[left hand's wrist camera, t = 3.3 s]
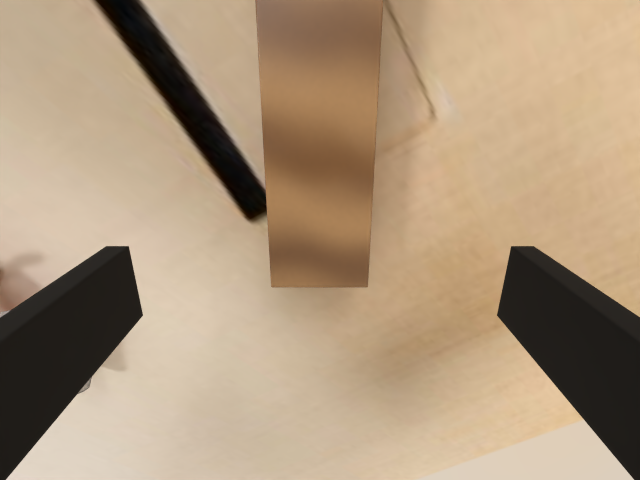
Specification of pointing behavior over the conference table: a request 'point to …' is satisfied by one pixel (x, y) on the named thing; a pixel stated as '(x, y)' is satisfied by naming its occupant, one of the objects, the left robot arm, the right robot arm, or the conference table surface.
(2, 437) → the left robot arm
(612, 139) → the conference table surface
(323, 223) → the beam
